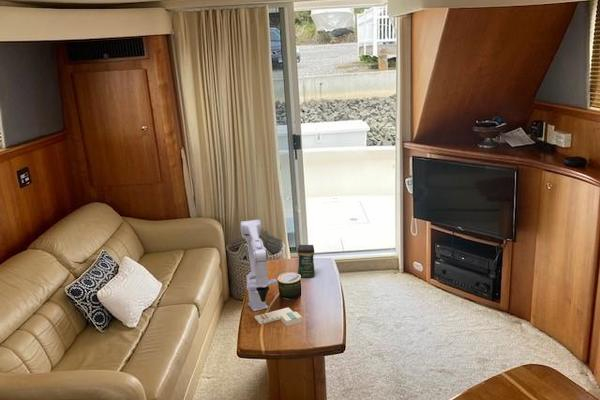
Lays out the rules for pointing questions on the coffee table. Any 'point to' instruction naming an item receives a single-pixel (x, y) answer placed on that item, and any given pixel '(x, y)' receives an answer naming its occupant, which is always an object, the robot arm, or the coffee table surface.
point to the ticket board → (272, 315)
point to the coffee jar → (306, 261)
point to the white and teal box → (291, 318)
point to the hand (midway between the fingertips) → (262, 300)
